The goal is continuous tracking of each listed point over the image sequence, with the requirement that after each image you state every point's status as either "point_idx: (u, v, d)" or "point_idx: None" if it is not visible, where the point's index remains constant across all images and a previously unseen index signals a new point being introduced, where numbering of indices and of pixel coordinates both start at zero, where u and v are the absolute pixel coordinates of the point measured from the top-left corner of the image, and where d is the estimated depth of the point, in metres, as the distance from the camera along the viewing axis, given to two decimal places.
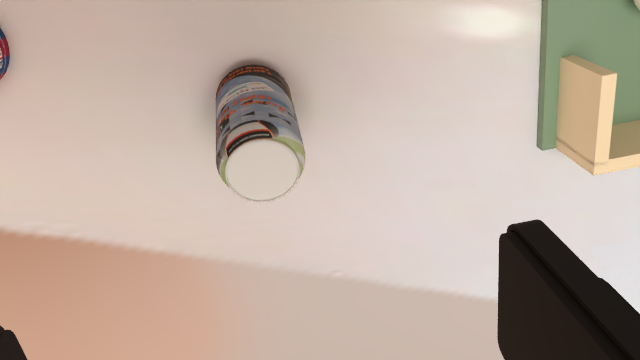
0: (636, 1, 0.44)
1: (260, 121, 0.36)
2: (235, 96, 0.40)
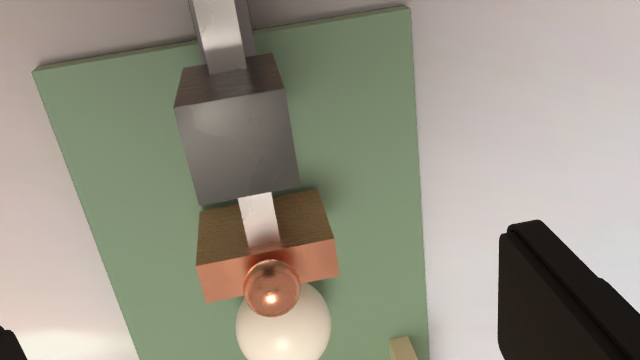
0: None
1: None
2: None
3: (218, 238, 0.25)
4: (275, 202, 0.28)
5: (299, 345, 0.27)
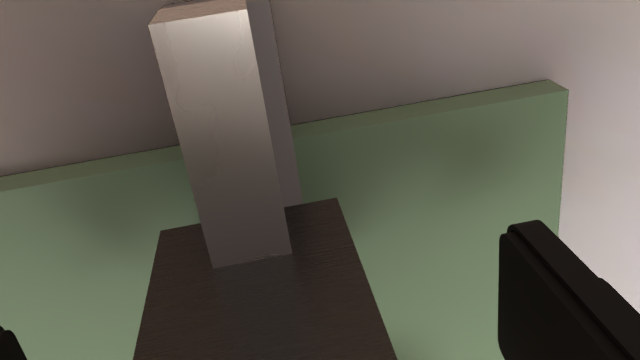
0: None
1: None
2: None
3: None
4: None
5: None
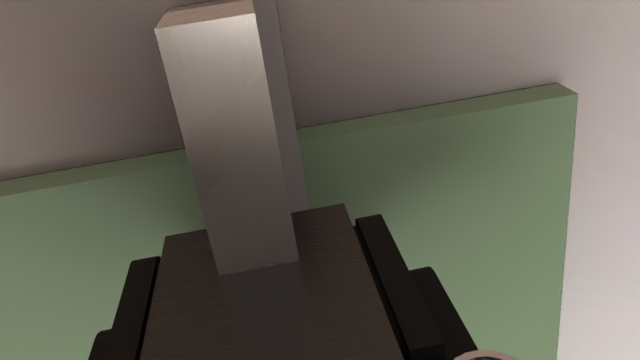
0: None
1: None
2: None
3: None
4: None
5: None
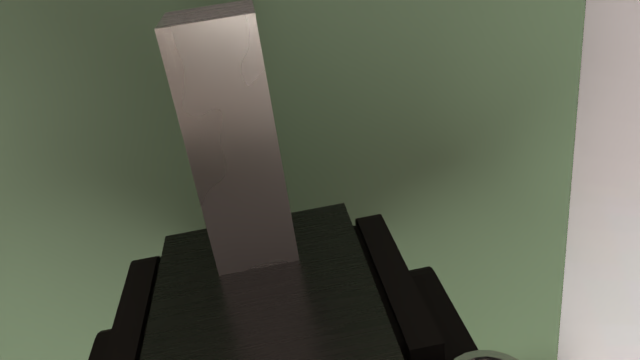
0: None
1: None
2: None
3: None
4: None
5: None
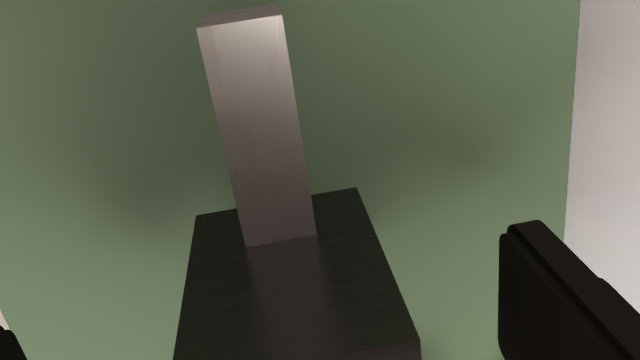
0: None
1: None
2: None
3: None
4: None
5: None
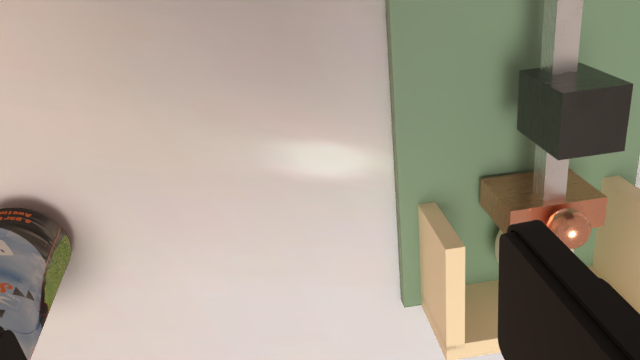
0: None
1: None
2: None
3: (513, 195, 0.35)
4: None
5: None
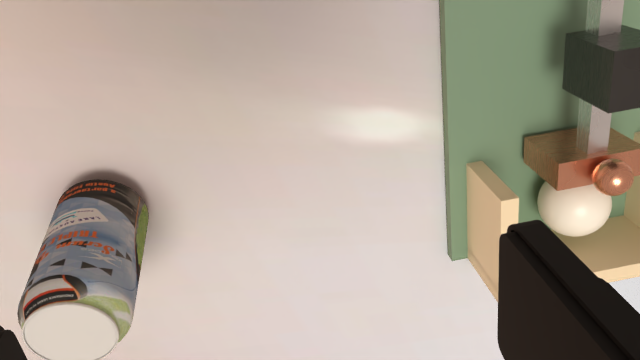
0: (547, 201, 0.40)
1: (66, 276, 0.30)
2: (57, 229, 0.33)
3: (558, 150, 0.38)
4: None
5: None
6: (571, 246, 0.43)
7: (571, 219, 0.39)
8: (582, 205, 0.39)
